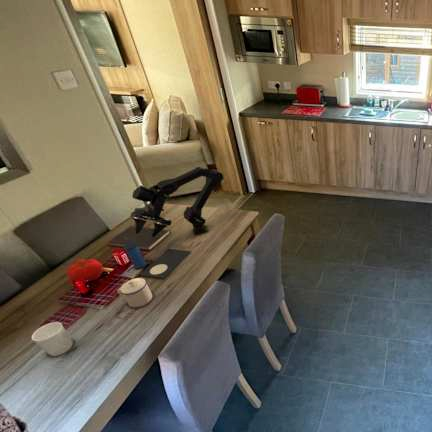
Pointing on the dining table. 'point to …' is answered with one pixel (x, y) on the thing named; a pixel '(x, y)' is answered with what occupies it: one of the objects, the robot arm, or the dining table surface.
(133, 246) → the tube
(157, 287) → the dining table surface
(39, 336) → the white cup
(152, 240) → the hardcover book
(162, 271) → the mat
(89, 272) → the tomato
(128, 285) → the teacup with lid
